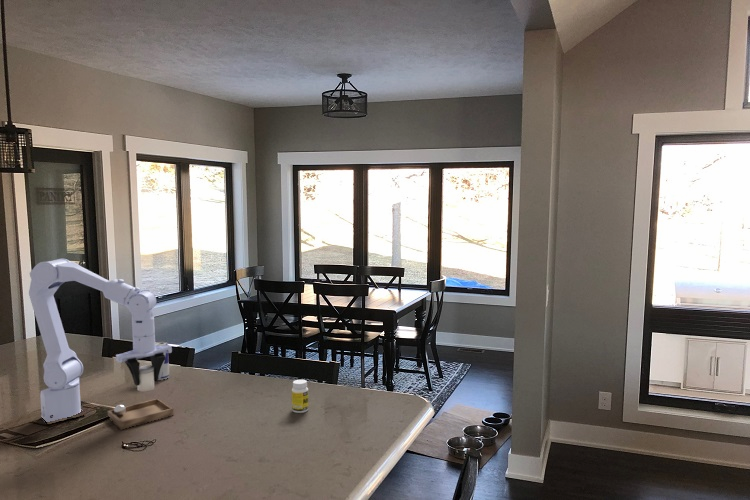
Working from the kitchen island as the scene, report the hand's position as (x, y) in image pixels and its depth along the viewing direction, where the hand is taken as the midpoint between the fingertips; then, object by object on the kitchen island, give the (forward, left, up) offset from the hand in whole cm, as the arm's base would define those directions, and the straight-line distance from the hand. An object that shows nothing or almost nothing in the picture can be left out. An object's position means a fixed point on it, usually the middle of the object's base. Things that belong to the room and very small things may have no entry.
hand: (146, 382), depth 151 cm
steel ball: (-6, +3, -7) cm, 10 cm away
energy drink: (+15, +29, -10) cm, 34 cm away
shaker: (0, 0, -2) cm, 2 cm away
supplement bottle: (+33, -27, -10) cm, 44 cm away
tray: (-2, 0, -9) cm, 10 cm away
